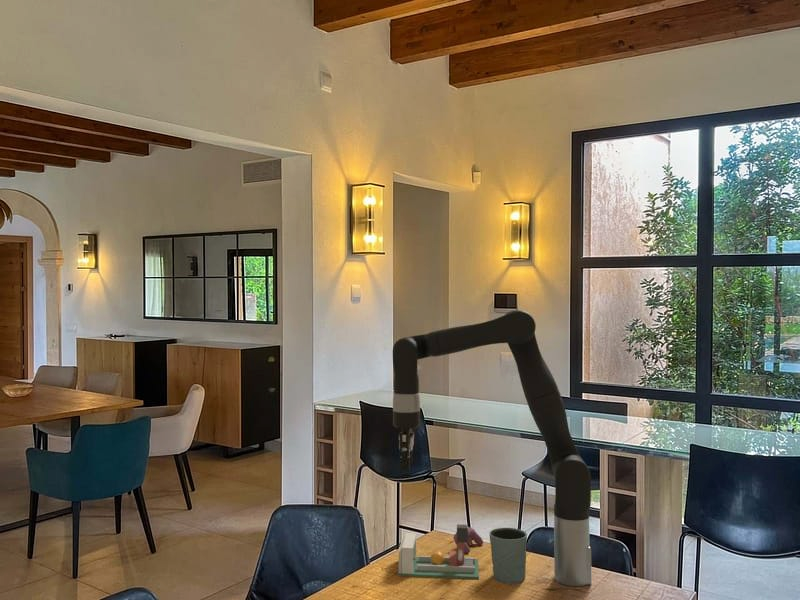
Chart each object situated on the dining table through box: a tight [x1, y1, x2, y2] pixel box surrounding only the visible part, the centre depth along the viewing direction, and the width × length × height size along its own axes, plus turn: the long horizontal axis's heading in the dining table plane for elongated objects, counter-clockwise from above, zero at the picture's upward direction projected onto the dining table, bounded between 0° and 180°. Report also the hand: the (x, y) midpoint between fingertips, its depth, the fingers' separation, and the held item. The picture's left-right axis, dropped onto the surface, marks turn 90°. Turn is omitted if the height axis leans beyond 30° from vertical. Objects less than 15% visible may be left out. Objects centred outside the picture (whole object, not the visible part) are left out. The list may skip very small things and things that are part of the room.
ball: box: [430, 550, 445, 565], centre depth 185 cm, size 4×4×4 cm
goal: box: [398, 532, 417, 574], centre depth 186 cm, size 4×12×7 cm, turn 174°
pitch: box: [397, 555, 480, 580], centre depth 185 cm, size 22×13×2 cm, turn 84°
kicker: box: [449, 524, 473, 566], centre depth 185 cm, size 6×14×11 cm, turn 174°
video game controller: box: [453, 526, 484, 554], centre depth 202 cm, size 10×5×7 cm, turn 144°
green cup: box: [489, 527, 528, 585], centre depth 179 cm, size 10×10×12 cm
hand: (406, 467), depth 182 cm, fingers open, 8 cm apart
